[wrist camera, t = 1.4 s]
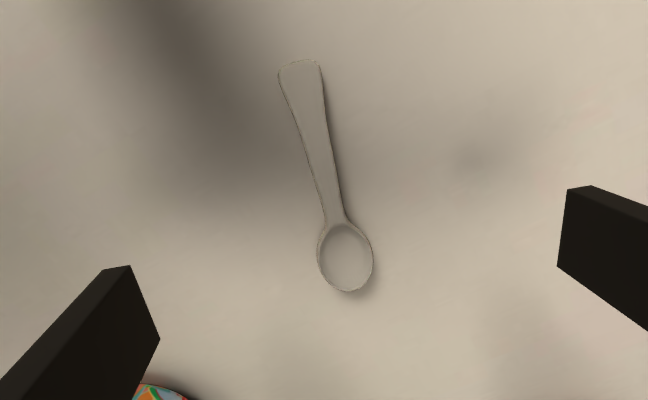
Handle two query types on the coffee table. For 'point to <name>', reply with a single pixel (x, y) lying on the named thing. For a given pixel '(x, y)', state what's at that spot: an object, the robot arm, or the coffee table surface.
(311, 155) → the spoon
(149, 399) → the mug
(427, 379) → the coffee table surface
